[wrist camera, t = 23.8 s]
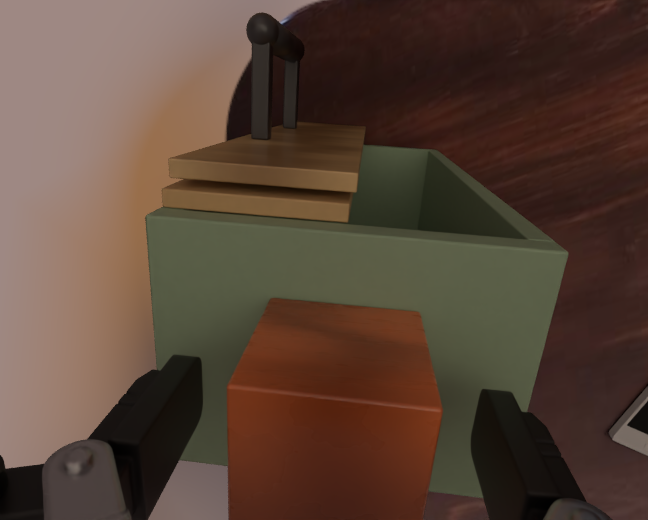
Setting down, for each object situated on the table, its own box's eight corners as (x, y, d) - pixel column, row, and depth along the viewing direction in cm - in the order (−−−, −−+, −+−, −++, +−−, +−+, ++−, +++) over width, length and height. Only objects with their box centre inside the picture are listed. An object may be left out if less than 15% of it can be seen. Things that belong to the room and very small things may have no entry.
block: (267, 418, 15) (227, 542, 11) (270, 296, 14) (225, 385, 9) (402, 433, 15) (415, 568, 11) (420, 311, 13) (445, 410, 9)
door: (292, 129, 36) (168, 177, 14) (295, 49, 34) (156, -42, 12) (365, 134, 36) (356, 193, 13) (372, 54, 34) (376, -32, 11)
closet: (287, 242, 41) (162, 459, 16) (291, 131, 37) (142, 194, 13) (421, 254, 40) (504, 502, 15) (438, 142, 36) (575, 231, 12)
